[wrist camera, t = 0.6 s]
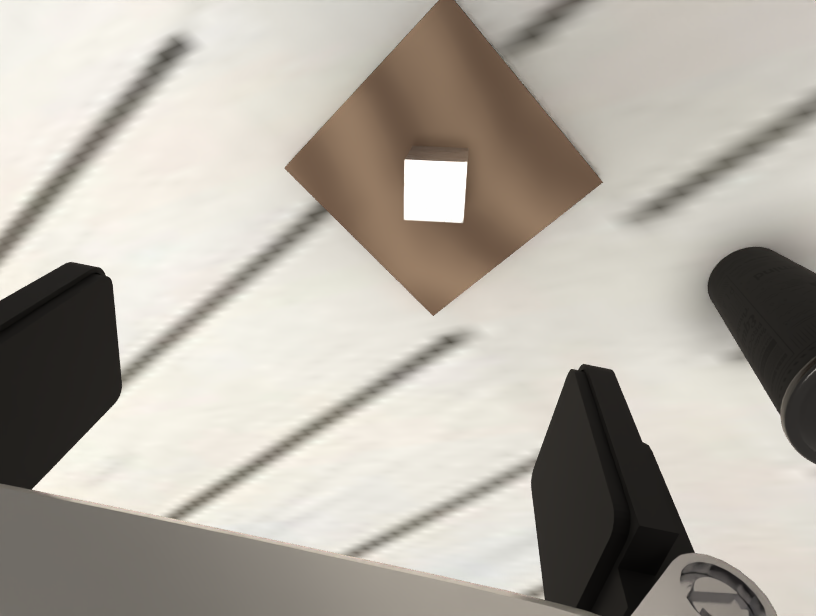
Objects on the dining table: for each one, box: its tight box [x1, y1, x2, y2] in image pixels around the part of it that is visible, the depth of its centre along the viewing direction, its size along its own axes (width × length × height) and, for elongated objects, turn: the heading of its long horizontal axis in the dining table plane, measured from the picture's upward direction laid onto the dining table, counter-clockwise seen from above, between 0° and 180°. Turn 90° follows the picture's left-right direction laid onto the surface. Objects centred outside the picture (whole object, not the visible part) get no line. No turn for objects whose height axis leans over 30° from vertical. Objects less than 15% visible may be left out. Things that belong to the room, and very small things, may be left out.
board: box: [285, 0, 603, 316], centre depth 35 cm, size 14×14×1 cm
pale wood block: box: [404, 146, 468, 223], centre depth 32 cm, size 3×3×4 cm
